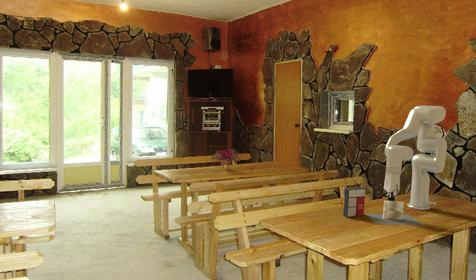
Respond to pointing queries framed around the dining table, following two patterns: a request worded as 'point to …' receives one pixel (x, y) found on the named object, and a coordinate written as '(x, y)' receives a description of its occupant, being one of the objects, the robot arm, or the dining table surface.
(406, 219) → the mat
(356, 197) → the grey and red box
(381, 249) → the dining table surface
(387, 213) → the tile
